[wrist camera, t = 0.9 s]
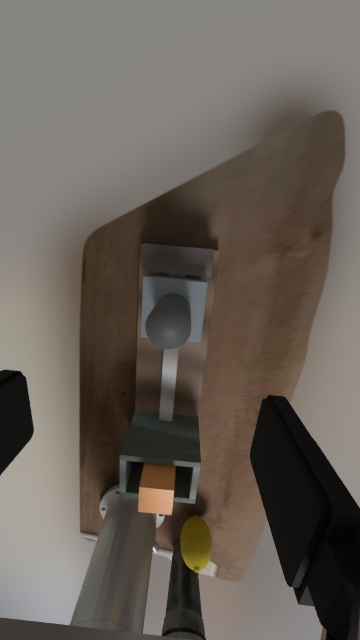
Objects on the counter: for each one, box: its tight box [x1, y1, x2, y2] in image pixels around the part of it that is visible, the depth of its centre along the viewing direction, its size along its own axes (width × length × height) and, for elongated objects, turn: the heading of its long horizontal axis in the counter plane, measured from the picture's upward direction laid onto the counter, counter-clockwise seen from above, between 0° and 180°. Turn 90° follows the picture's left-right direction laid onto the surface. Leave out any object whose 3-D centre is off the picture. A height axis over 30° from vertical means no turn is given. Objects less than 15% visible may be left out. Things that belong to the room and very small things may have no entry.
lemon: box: [180, 515, 212, 573], centre depth 39 cm, size 6×6×8 cm
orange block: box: [138, 462, 176, 515], centre depth 27 cm, size 4×4×4 cm
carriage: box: [141, 275, 208, 349], centre depth 24 cm, size 7×7×10 cm
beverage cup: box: [162, 541, 206, 640], centre depth 36 cm, size 7×7×20 cm
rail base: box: [119, 243, 220, 504], centre depth 29 cm, size 32×10×10 cm, turn 175°
